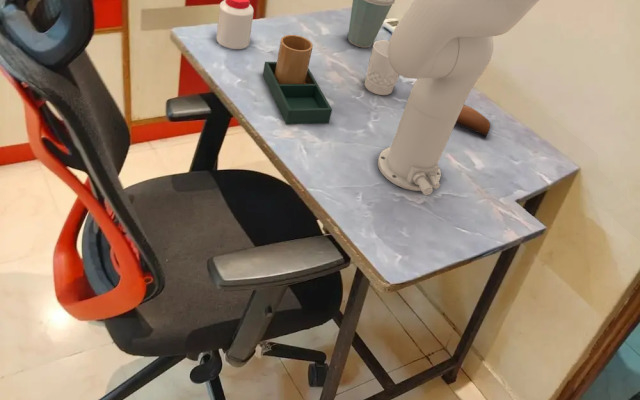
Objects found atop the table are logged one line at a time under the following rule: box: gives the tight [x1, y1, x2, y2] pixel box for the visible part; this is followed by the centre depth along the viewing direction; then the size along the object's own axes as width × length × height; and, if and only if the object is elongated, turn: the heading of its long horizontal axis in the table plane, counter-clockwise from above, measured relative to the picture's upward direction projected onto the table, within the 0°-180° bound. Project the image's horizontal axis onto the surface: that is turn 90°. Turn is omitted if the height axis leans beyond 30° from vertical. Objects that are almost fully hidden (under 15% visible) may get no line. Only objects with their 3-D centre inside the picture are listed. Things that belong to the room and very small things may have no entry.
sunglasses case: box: [455, 104, 491, 137], centre depth 133 cm, size 18×7×7 cm
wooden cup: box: [275, 34, 314, 84], centre depth 126 cm, size 7×7×10 cm
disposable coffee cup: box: [347, 0, 396, 49], centre depth 148 cm, size 11×11×15 cm
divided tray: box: [262, 61, 333, 126], centre depth 126 cm, size 9×18×4 cm, turn 20°
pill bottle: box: [216, 0, 255, 50], centre depth 136 cm, size 8×8×11 cm
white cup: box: [364, 39, 400, 96], centre depth 134 cm, size 8×8×10 cm
